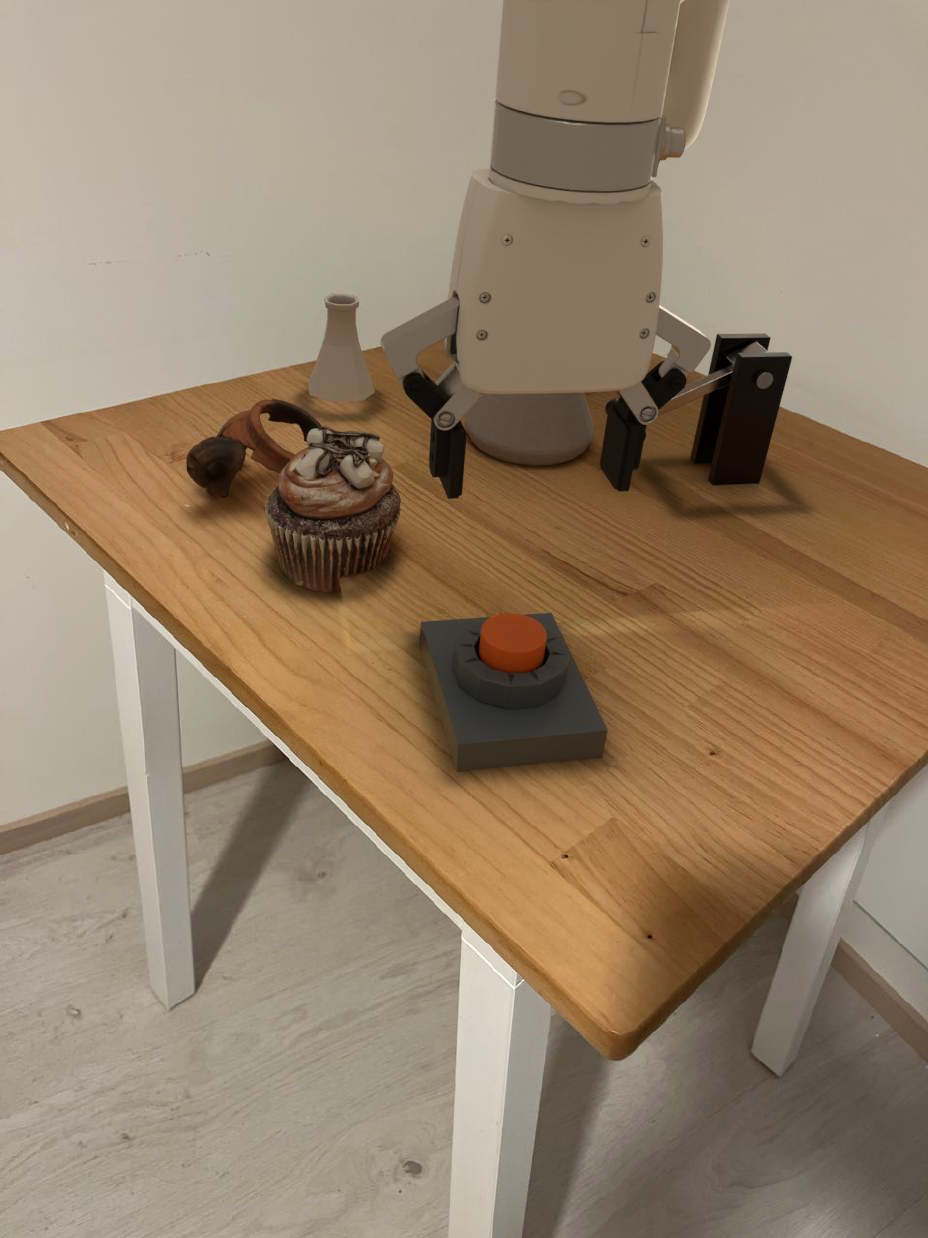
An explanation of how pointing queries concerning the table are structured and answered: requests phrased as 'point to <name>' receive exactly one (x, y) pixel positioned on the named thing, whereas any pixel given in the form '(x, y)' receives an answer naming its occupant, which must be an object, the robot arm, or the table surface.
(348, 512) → the cupcake
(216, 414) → the table surface
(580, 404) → the coffee pot
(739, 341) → the bracket
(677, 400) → the lever
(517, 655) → the button
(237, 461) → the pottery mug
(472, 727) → the button box
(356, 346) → the flask
